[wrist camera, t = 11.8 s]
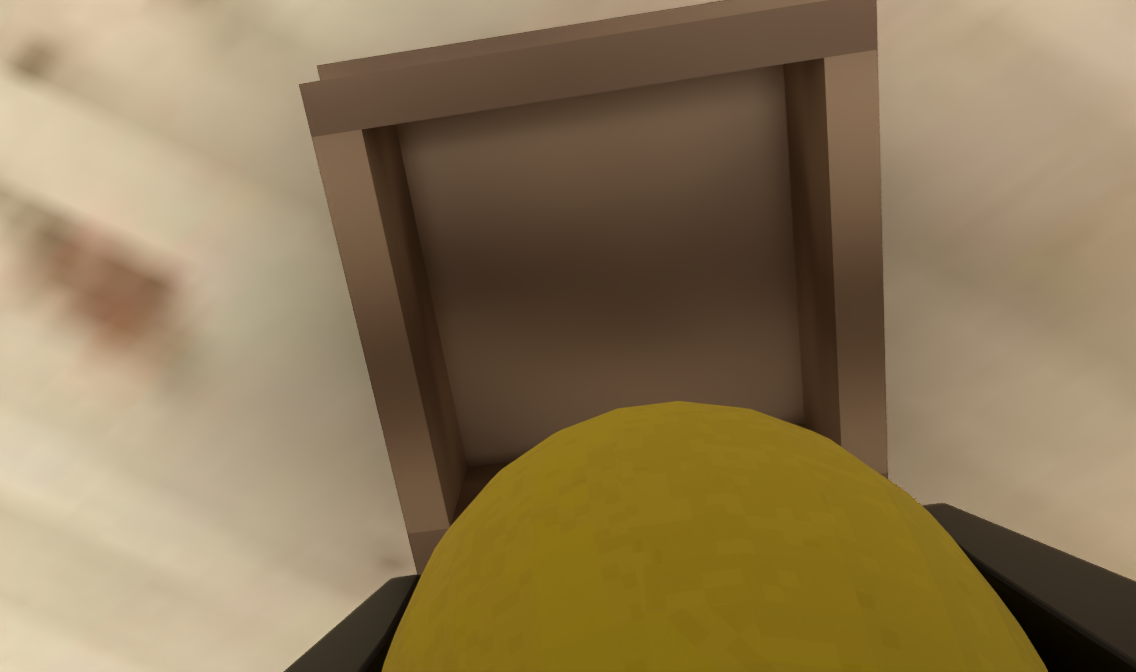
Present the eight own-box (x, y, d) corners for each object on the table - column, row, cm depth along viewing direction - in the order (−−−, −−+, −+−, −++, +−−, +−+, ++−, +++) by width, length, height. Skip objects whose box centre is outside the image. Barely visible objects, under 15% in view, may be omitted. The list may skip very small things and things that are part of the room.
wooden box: (330, 66, 18) (267, 60, 15) (832, -14, 18) (903, -41, 14) (496, 796, 25) (483, 920, 22) (863, 756, 25) (916, 877, 21)
